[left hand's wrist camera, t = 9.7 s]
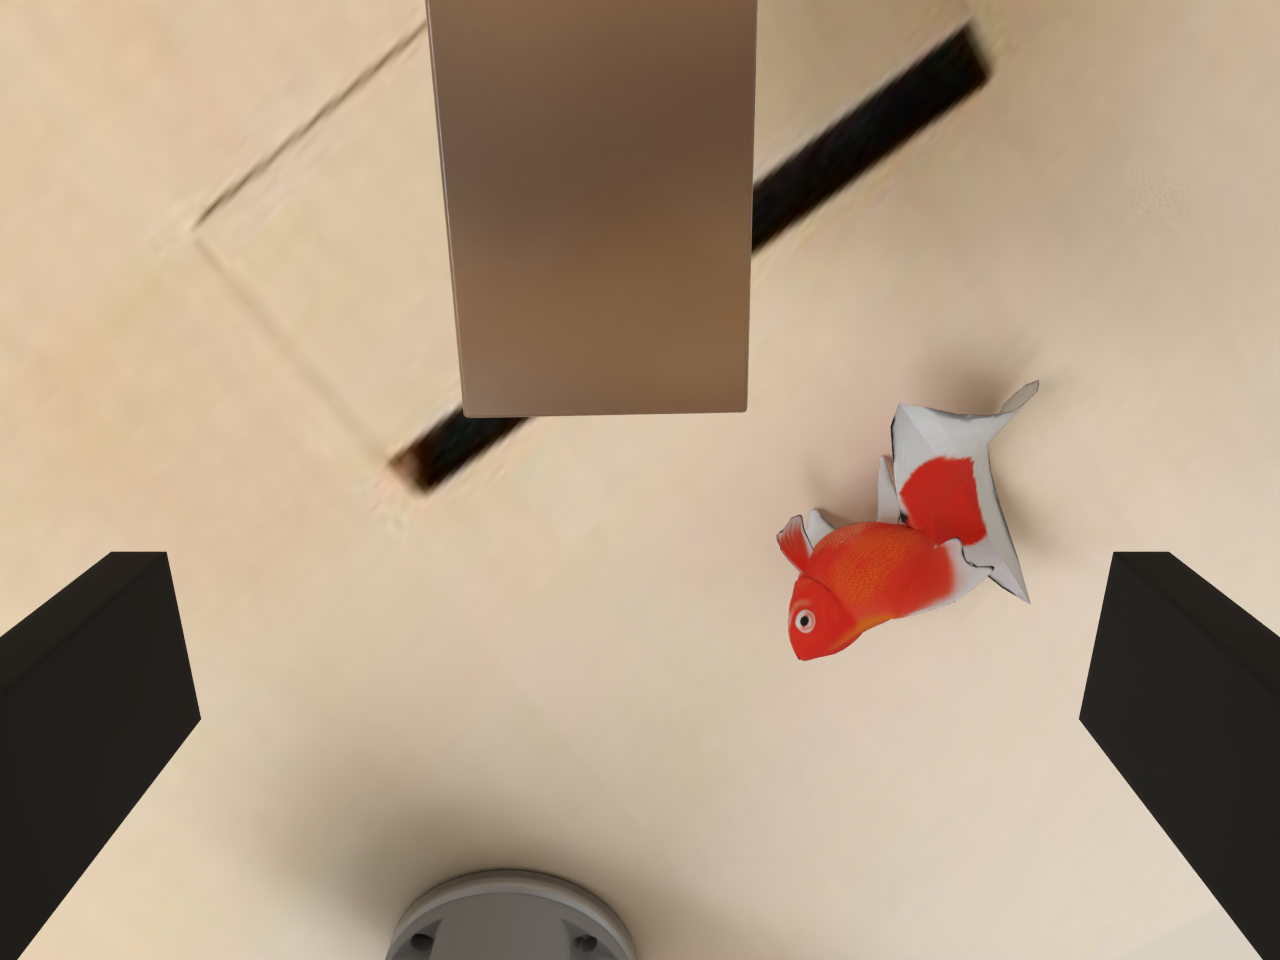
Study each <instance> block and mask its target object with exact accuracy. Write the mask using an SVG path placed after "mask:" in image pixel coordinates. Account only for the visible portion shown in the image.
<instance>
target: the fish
mask: <svg viewBox="0 0 1280 960" xmlns="http://www.w3.org/2000/svg"><path fill="white" fill-rule="evenodd" d="M1038 387H1039V380H1037V381H1034V382H1032V383H1029V384H1026V385H1025V386H1024V387H1023V388H1021V389H1020V390H1019V391H1018V392H1017V393H1015V394H1014V395H1013V396H1012V397H1011V398H1010V399H1009V400H1008V401H1007V402H1006V403H1005V404H1004V405H1003V407H1002V408H1001V410H1000V412H999V414H994V415H988V416H987V415H963V414H954V413H949V412H945V411H940V410H936V409H931V408H926V407H920V406H913V405H906V404H900V403H899V405H898V408H897V410H896V413H895V416H894V419H893V421H892V424H891V439H892V452H893V465H894V480H895V486H896V491H895V488H894V485H893V483H892V480H891V477H890V474H889V471H888V468H887V465H886V461H885V458H884V457H881V458H880V468H879V477H878V489H877V491H878V515H877V520H876V522H861V523H855V524H851V525H848V526H845V527H842V528H839V529H836V530H835V529H834V527H833V526H832V525H831V524H829V523H828V522H827V521H826V520H825V519H824V518H823V517H822V515H821V514H820V513H819V512H818V511H817V510H813V511H811V512H810V515H809V520H808V532H807V534H806V532H805V529H804V525H803V519H802V516H801V515H797V516H795V517H792V518H791V519H790V521H789V522H788V523H787V525H786V526H785V528H784V529H783V530H782V531H781V532H779V533H778V534H777V541H778V543H779V545H780V549H781V551H782V552H783V554H784V555H785V556H786V558H787V559H788V560H789V561H790V562H791V563H792V564H793V565H794V566H795V567H796V568H797V569H798V570H799V571H800V574H799V577H798V580H797V581H796V582H795V586H794V590H793V595H792V599H791V602H790V608H789V618H788V633H789V638H790V642H791V645H792V647H793V650H794V652H795V654H796V656H797V658H798V660H803V661H807V660H811V659H814V658H818V657H823V656H828V655H832V654H836V653H837V652H839V651H841V650H843V649H845V648H846V647H848V646H849V645H851V644H852V643H853V642H854V641H855V640H856V639H857V638H858V637H859V636H860V635H861V634H862V633H863V632H865V631H867V630H868V629H870V628H873V627H875V626H877V625H879V624H881V623H884V622H886V621H888V620H890V619H897V618H903V617H907V616H911V615H915V614H919V613H922V612H926V611H929V610H933V609H936V608H939V607H942V606H945V605H948V604H951V603H954V602H956V601H957V600H959V599H960V598H961V597H963V596H964V595H966V594H967V593H968V592H970V591H971V590H973V589H974V588H975V587H976V586H977V585H978V584H979V583H980V582H981V581H982V580H984V579H985V578H986V577H987V576H988V577H989V578H991V579H992V580H993V581H994V582H996V583H997V584H998V585H1000V586H1001V587H1002V588H1003V589H1005V590H1007V591H1008V592H1010V593H1012V594H1013V595H1015V596H1017V597H1019V598H1020V599H1022V600H1024V601H1025V602H1027V603H1029V604H1030V601H1029V597H1028V593H1027V590H1026V586H1025V582H1024V579H1023V575H1022V571H1021V568H1020V564H1019V561H1018V557H1017V554H1016V551H1015V548H1014V545H1013V542H1012V539H1011V536H1010V533H1009V530H1008V527H1007V524H1006V521H1005V518H1004V515H1003V512H1002V509H1001V506H1000V503H999V499H998V495H997V492H996V488H995V485H994V481H993V478H992V474H991V468H990V461H989V454H988V443H989V442H990V441H991V440H992V439H993V438H994V436H995V435H996V434H997V433H998V432H999V431H1000V430H1001V429H1002V428H1003V427H1004V425H1005V424H1007V423H1008V422H1009V420H1010V419H1011V418H1012V417H1013V416H1014V415H1015V414H1016V413H1017V411H1018V410H1019V409H1020V408H1021V407H1022V406H1023V405H1024V404H1025V403H1026V402H1027V401H1028V400H1029V399H1030V398H1031V397H1032V396H1033V395H1034V394H1035V393H1036V392H1037V391H1038ZM896 492H897V493H896ZM900 517H901V520H902V522H903V523H905V524H898V522H899V520H900ZM968 562H969V563H968ZM970 563H972V564H973V565H971V564H970ZM1030 605H1031V604H1030Z"/></svg>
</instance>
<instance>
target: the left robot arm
mask: <svg viewBox="0 0 1280 960" xmlns="http://www.w3.org/2000/svg"><path fill="white" fill-rule="evenodd" d="M200 720H201V716H200V711H199V707H198V702H197V697H196V692H195V687H194V682H193V678H192V673H191V668H190V663H189V658H188V653H187V649H186V644H185V639H184V634H183V629H182V624H181V620H180V615H179V610H178V605H177V600H176V595H175V591H174V586H173V581H172V576H171V571H170V566H169V562H168V557H167V552H110V553H109V554H108V555H106V556H105V557H104V558H102V559H101V560H100V561H99V562H97V563H96V564H95V565H93V566H92V567H91V568H89V569H88V570H87V571H86V572H84V573H83V574H82V575H80V576H79V577H78V578H76V579H75V580H74V581H73V582H71V583H70V584H69V585H67V586H66V587H65V588H63V589H62V590H61V591H60V592H58V593H57V594H56V595H54V596H53V597H52V598H51V599H49V600H48V601H47V602H45V603H44V604H43V605H41V606H40V607H39V608H38V609H36V610H35V611H34V612H32V613H31V614H30V615H28V616H27V617H26V618H25V619H23V620H22V621H21V622H19V623H18V624H17V625H15V626H14V627H13V628H12V629H10V630H9V631H8V632H6V633H5V634H4V635H2V636H1V637H0V960H17V959H18V958H19V957H20V955H21V954H22V953H23V951H24V950H25V949H26V948H27V946H28V945H29V944H30V942H31V941H32V940H33V938H34V937H35V936H36V934H37V933H38V932H39V931H40V929H41V928H42V927H43V925H44V924H45V923H46V921H47V920H48V919H49V917H50V916H51V915H52V913H53V912H54V911H55V910H56V908H57V907H58V906H59V904H60V903H61V902H62V900H63V899H64V898H65V896H66V895H67V894H68V893H69V891H70V890H71V889H72V887H73V886H74V885H75V883H76V882H77V881H78V879H79V878H80V877H81V876H82V874H83V873H84V872H85V870H86V869H87V868H88V866H89V865H90V864H91V862H92V861H93V860H94V859H95V857H96V856H97V855H98V853H99V852H100V851H101V849H102V848H103V847H104V845H105V844H106V843H107V842H108V840H109V839H110V838H111V836H112V835H113V834H114V832H115V831H116V830H117V828H118V827H119V826H120V825H121V823H122V822H123V821H124V819H125V818H126V817H127V815H128V814H129V813H130V811H131V810H132V809H133V807H134V806H135V805H136V804H137V802H138V801H139V800H140V798H141V797H142V796H143V794H144V793H145V792H146V790H147V789H148V788H149V787H150V785H151V784H152V783H153V781H154V780H155V779H156V777H157V776H158V775H159V773H160V772H161V771H162V770H163V768H164V767H165V766H166V764H167V763H168V762H169V760H170V759H171V758H172V756H173V755H174V754H175V753H176V751H177V750H178V749H179V747H180V746H181V745H182V743H183V742H184V741H185V739H186V738H187V737H188V736H189V734H190V733H191V732H192V730H193V729H194V728H195V726H196V725H197V724H198V722H199V721H200ZM1079 720H1080V721H1081V722H1082V724H1083V725H1084V726H1085V728H1086V729H1087V730H1088V732H1089V733H1090V734H1091V736H1092V737H1093V738H1094V739H1095V741H1096V742H1097V743H1098V745H1099V746H1100V747H1101V749H1102V750H1103V751H1104V753H1105V754H1106V755H1107V756H1108V758H1109V759H1110V760H1111V762H1112V763H1113V764H1114V766H1115V767H1116V768H1117V770H1118V771H1119V772H1120V773H1121V775H1122V776H1123V777H1124V779H1125V780H1126V781H1127V783H1128V784H1129V785H1130V787H1131V788H1132V789H1133V790H1134V792H1135V793H1136V794H1137V796H1138V797H1139V798H1140V800H1141V801H1142V802H1143V804H1144V805H1145V806H1146V808H1147V809H1148V810H1149V811H1150V813H1151V814H1152V815H1153V817H1154V818H1155V819H1156V821H1157V822H1158V823H1159V825H1160V826H1161V827H1162V828H1163V830H1164V831H1165V832H1166V834H1167V835H1168V836H1169V838H1170V839H1171V840H1172V842H1173V843H1174V844H1175V845H1176V847H1177V848H1178V849H1179V851H1180V852H1181V853H1182V855H1183V856H1184V857H1185V859H1186V860H1187V861H1188V862H1189V864H1190V865H1191V866H1192V868H1193V869H1194V870H1195V872H1196V873H1197V874H1198V876H1199V877H1200V878H1201V879H1202V881H1203V882H1204V883H1205V885H1206V886H1207V887H1208V889H1209V890H1210V891H1211V893H1212V894H1213V895H1214V896H1215V898H1216V899H1217V900H1218V902H1219V903H1220V904H1221V906H1222V907H1223V908H1224V909H1225V911H1226V912H1227V913H1228V915H1229V916H1230V917H1231V919H1232V920H1233V921H1234V923H1235V924H1236V925H1237V927H1238V928H1239V929H1240V931H1241V932H1242V933H1243V934H1244V936H1245V937H1246V938H1247V940H1248V941H1249V942H1250V944H1251V945H1252V946H1253V947H1254V949H1255V950H1256V951H1257V953H1258V954H1259V955H1260V957H1261V958H1262V959H1263V960H1280V637H1279V636H1278V635H1276V634H1275V633H1274V632H1272V631H1271V630H1270V629H1268V628H1267V627H1266V626H1265V625H1263V624H1262V623H1261V622H1259V621H1258V620H1257V619H1255V618H1254V617H1253V616H1252V615H1250V614H1249V613H1248V612H1246V611H1245V610H1244V609H1242V608H1241V607H1240V606H1239V605H1237V604H1236V603H1235V602H1233V601H1232V600H1231V599H1229V598H1228V597H1227V596H1226V595H1224V594H1223V593H1222V592H1220V591H1219V590H1218V589H1217V588H1215V587H1214V586H1213V585H1211V584H1210V583H1209V582H1207V581H1206V580H1205V579H1204V578H1202V577H1201V576H1200V575H1198V574H1197V573H1196V572H1194V571H1193V570H1192V569H1191V568H1189V567H1188V566H1187V565H1185V564H1184V563H1183V562H1181V561H1180V560H1179V559H1178V558H1176V557H1175V556H1174V555H1172V554H1171V553H1170V552H1113V557H1112V562H1111V566H1110V571H1109V576H1108V581H1107V586H1106V591H1105V595H1104V600H1103V605H1102V610H1101V615H1100V620H1099V624H1098V629H1097V634H1096V639H1095V644H1094V649H1093V653H1092V658H1091V663H1090V668H1089V673H1088V678H1087V682H1086V687H1085V692H1084V697H1083V702H1082V707H1081V711H1080V716H1079ZM385 960H636V954H635V949H634V946H633V943H632V940H631V938H630V935H629V933H628V931H627V930H626V928H625V926H624V925H623V923H622V922H621V921H620V919H619V918H618V917H617V916H616V914H615V913H614V912H613V911H612V910H611V909H610V908H609V907H608V906H607V905H605V904H604V903H603V902H602V901H601V900H599V899H598V898H596V897H595V896H594V895H592V894H591V893H589V892H587V891H586V890H584V889H582V888H580V887H578V886H576V885H574V884H572V883H569V882H567V881H564V880H561V879H559V878H556V877H552V876H548V875H545V874H540V873H534V872H527V871H517V870H495V871H486V872H479V873H474V874H469V875H466V876H462V877H458V878H456V879H453V880H450V881H448V882H445V883H443V884H441V885H439V886H437V887H435V888H434V889H432V890H430V891H429V892H427V893H426V894H425V895H423V896H422V897H421V898H419V899H418V900H417V901H416V902H415V903H414V904H413V905H412V906H411V907H410V908H409V909H408V910H407V911H406V912H405V914H404V915H403V917H402V918H401V920H400V921H399V923H398V925H397V927H396V929H395V932H394V934H393V937H392V940H391V943H390V947H389V950H388V953H387V956H386V959H385Z"/></svg>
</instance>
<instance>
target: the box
mask: <svg viewBox="0 0 1280 960" xmlns="http://www.w3.org/2000/svg"><path fill="white" fill-rule="evenodd" d="M425 5H426V15H427V26H428V37H429V47H430V58H431V69H432V79H433V90H434V101H435V111H436V122H437V133H438V143H439V154H440V165H441V175H442V186H443V197H444V208H445V218H446V229H447V240H448V250H449V261H450V272H451V282H452V293H453V304H454V314H455V325H456V336H457V346H458V357H459V368H460V378H461V389H462V400H463V410H464V415H465V417H468V418H485V417H536V416H587V415H637V414H688V413H739V412H745V411H746V410H747V396H748V356H749V316H750V276H751V236H752V196H753V156H754V116H755V76H756V36H757V0H425Z"/></svg>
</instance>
